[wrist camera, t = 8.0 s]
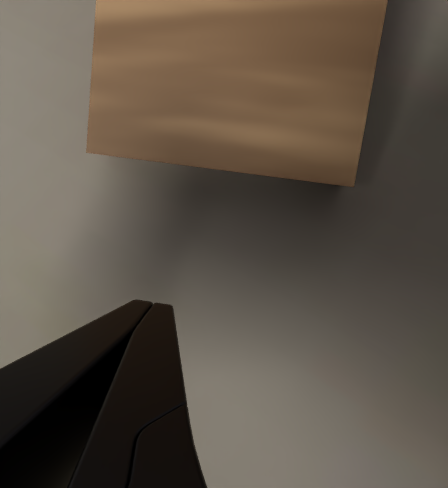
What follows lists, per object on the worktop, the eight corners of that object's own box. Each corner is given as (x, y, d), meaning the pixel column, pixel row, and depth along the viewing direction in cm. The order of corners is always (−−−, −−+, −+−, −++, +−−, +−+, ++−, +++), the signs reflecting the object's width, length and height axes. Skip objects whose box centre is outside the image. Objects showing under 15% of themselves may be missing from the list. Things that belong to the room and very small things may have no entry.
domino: (353, 187, 16) (416, -162, 14) (86, 152, 17) (108, -182, 15) (342, 185, 19) (395, -115, 17) (108, 155, 20) (129, -134, 17)
